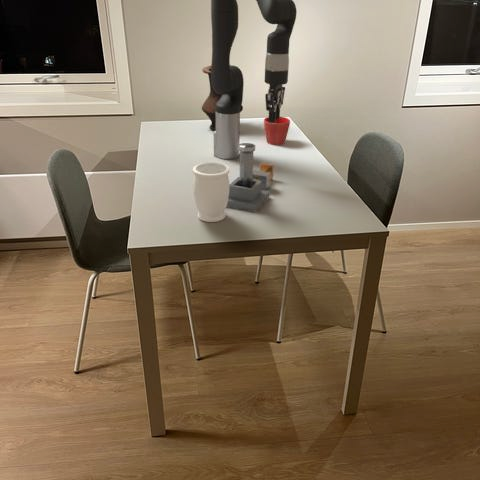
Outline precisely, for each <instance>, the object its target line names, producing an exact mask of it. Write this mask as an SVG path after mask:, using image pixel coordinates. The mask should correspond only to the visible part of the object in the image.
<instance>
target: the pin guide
mask: <svg viewBox="0 0 480 480" xmlns="http://www.w3.org/2000/svg"><path fill="white" fill-rule="evenodd" d="M270 174H271V173H270V172H264V171H260V170H257V169H253V177H252V181H253V179H254V178H255V177H258V178H259V181H262V190H264V191H269V189H270V188H271V179H270Z"/></svg>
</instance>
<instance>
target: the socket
mask: <svg viewBox="0 0 480 480" xmlns="http://www.w3.org/2000/svg"><path fill="white" fill-rule="evenodd" d="M269 198H270V191H269V190H267V191H264V190H262V181H259V180H253V181H252V187H251V188H247V187H241V186H239V176H237V177H236V179H234V180H233V181H232V182H231V183H229V197H228V203H227V207H228V208H233V209H238V210H244V211H249V212H254V213H257V212H258V210H260V208H261V207H262V206H263V205H264V204H265V202H266V201H268V199H269ZM227 207H226V208H227Z"/></svg>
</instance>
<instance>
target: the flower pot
mask: <svg viewBox="0 0 480 480" xmlns="http://www.w3.org/2000/svg"><path fill="white" fill-rule="evenodd" d="M268 120H269V116H268V117H265V118H264V119H263V126H264V132H265V140H266V143H268V144H267V145H272V146H282V145H284V144H285V143H286V141H287V137H288V133H289V128H290V124H291V119H289V118H288V117H285V116H280V118H279V119H278V120H276V119H275V123H269V121H268Z"/></svg>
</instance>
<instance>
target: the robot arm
mask: <svg viewBox="0 0 480 480" xmlns="http://www.w3.org/2000/svg"><path fill="white" fill-rule="evenodd" d="M255 1H256V3H257V6H258V9H259V10H260V14H261V15H262V18H263V19H264V21H265V22H267V23H268V24H270V25H276V28H275V30H274V31H272V32H270V33H269V34H268V35H267V39H266V56H265V60H264V63H265V64H264V66H265V67H264V83H265V84H268V90H267V93H265V94H264V96H265V97H264V98H265V110H266V111H268V117H269V120H268V121H269V123H275V119H276V120H278V119H279V118H280V117H281V116H280V115H281V113H280V112H281V108H282V106H283V105H284V97H285V91H286V87H285V85H287V84H288V81H289V80H288V79H289V69H290V68H289V66H290V58H289V57H290V56H289V53H290V40H291V35H292V33H293V29H294V27H295V23H296V18H297V12H298V11H297V5H296V4H295V3H296V2H295V1H294V0H255ZM210 6H211V7H210V15H211V16H210V18H211V20H210V22H211V45H212V46H211V51H212V52H211V65H210V66H211V84H212V87H213V89H214V91H215V92H216V93H217V94H219V95H222V96H221V98H220V100H219V101H218V102H217V103H216V106H215V111H216V131H213V156H214V157H217V158H219V159H223V160H232V159H238V158H240V151H239V144H240V137H241V136H240V134H241V131H240V129H241V127H240V126H241V124H240V123H241V112H240V107H241V104H243V97H244V75H243V71H242V70H241V68H239V66H236V65H232V66H230V65H231V64H230V63H231V61H230V59H231V58H230V57H231V51H232V47H233V44H234V41H235V38H236V36H237V33H238V28H239V5H238V0H210ZM283 85H284V86H283Z"/></svg>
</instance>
